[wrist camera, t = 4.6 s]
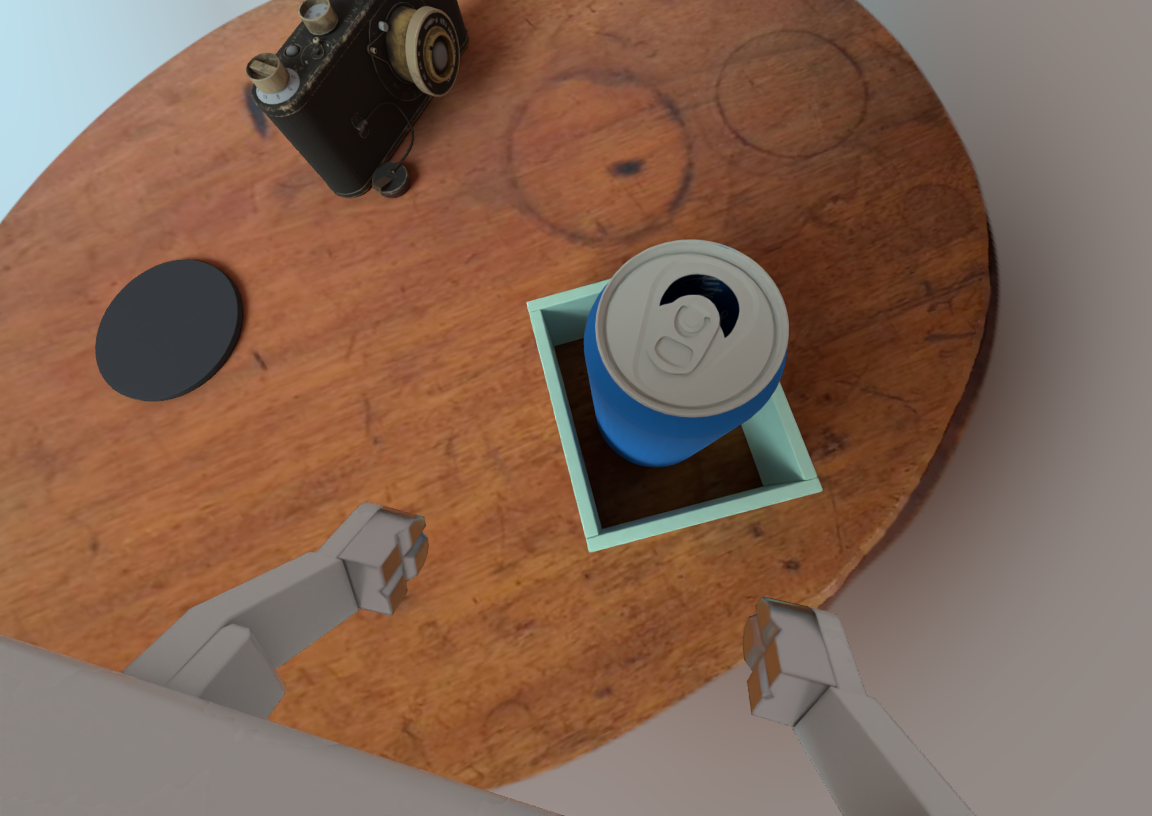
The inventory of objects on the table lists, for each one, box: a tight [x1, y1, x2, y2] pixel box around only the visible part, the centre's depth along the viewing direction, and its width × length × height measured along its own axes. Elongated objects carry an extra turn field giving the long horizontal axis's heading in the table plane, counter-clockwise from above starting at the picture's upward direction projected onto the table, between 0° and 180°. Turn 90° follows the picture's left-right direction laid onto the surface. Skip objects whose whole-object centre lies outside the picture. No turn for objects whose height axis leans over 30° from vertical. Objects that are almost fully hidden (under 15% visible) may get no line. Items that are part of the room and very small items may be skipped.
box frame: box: [527, 279, 823, 552], centre depth 21 cm, size 12×10×5 cm
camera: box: [246, 0, 469, 198], centre depth 27 cm, size 16×7×8 cm, turn 153°
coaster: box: [95, 260, 243, 401], centre depth 28 cm, size 10×10×1 cm
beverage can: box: [584, 240, 789, 468], centre depth 18 cm, size 6×6×12 cm
